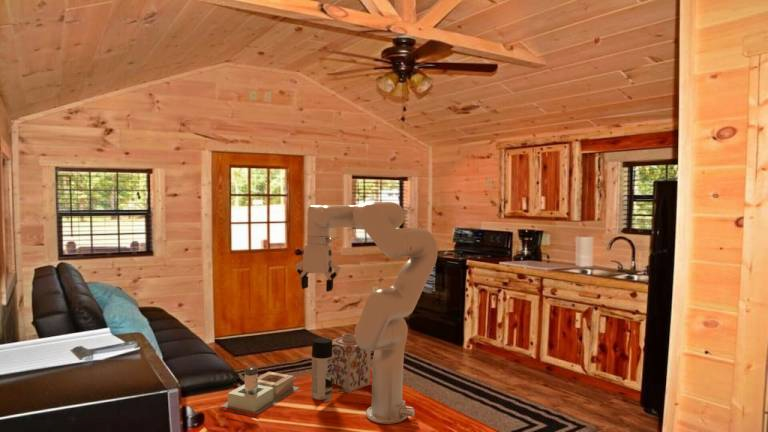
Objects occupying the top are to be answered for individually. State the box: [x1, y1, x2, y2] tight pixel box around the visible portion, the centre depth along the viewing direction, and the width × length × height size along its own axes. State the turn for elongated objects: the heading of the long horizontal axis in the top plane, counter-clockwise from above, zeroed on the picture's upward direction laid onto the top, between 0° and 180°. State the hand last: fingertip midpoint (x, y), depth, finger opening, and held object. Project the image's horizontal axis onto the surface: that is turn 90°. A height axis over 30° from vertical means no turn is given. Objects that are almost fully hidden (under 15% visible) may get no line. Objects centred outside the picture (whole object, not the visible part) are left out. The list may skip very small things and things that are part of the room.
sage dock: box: [227, 383, 273, 412], centre depth 170 cm, size 10×10×4 cm
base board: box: [219, 385, 300, 420], centre depth 176 cm, size 14×24×2 cm, turn 158°
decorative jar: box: [332, 333, 372, 394], centre depth 192 cm, size 12×12×18 cm
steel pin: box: [244, 365, 259, 395], centre depth 170 cm, size 4×4×11 cm
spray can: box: [311, 337, 333, 404], centre depth 177 cm, size 7×7×20 cm
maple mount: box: [258, 371, 294, 398], centre depth 181 cm, size 10×10×4 cm
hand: (317, 289), depth 188 cm, fingers open, 9 cm apart
